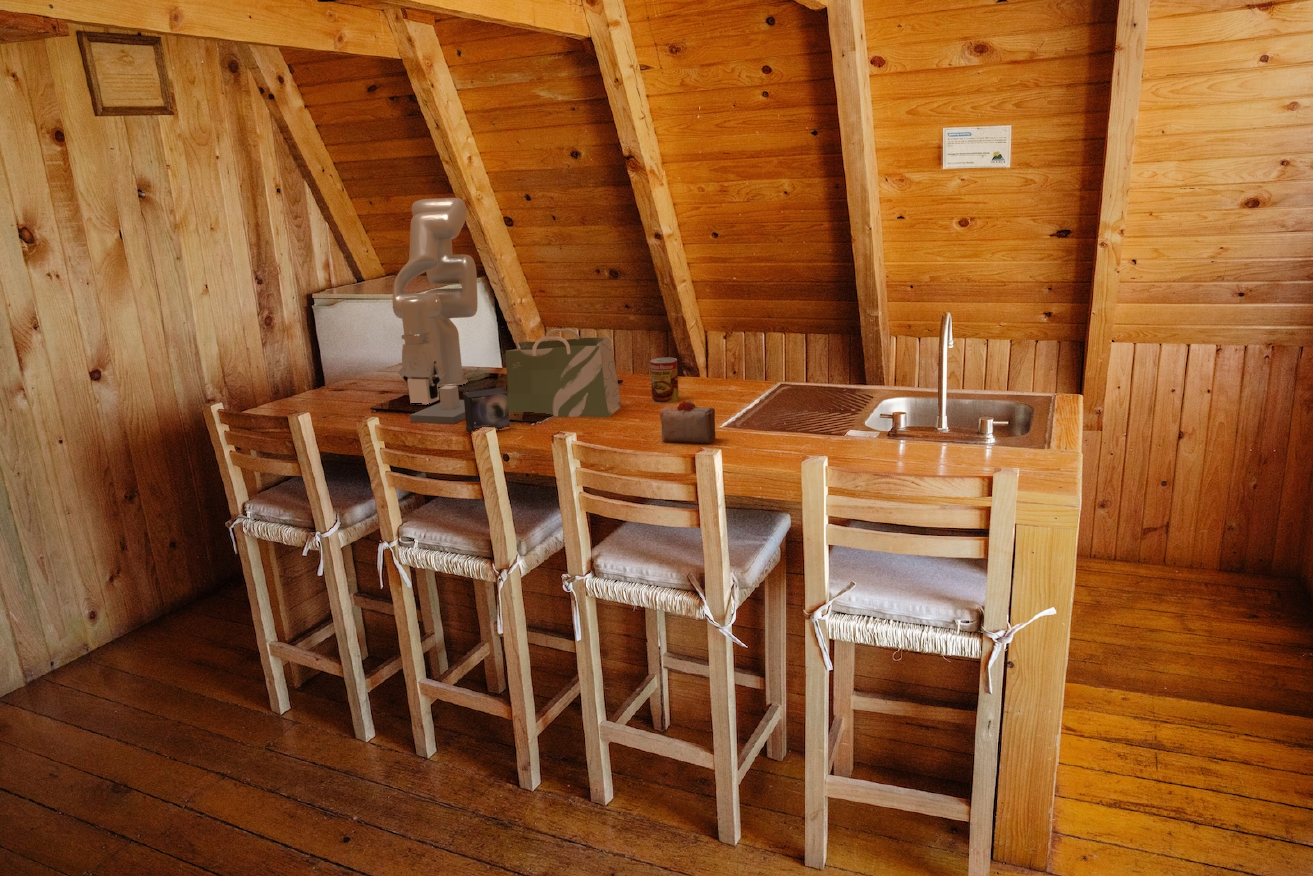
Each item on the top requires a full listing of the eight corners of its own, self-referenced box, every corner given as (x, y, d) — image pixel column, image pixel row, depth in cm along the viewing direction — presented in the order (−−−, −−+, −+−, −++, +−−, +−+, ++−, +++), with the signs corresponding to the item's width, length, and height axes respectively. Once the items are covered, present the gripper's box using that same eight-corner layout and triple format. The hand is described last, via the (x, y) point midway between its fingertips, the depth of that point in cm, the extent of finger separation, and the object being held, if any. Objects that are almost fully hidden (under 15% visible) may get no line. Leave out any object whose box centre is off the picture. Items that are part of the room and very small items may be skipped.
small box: (472, 435, 249) (469, 396, 246) (465, 430, 255) (461, 392, 252) (511, 429, 254) (507, 391, 251) (503, 424, 259) (500, 387, 257)
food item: (656, 443, 234) (655, 404, 231) (666, 435, 241) (664, 397, 238) (710, 446, 230) (709, 406, 227) (718, 437, 237) (717, 398, 234)
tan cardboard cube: (421, 398, 293) (419, 374, 291) (439, 399, 291) (436, 375, 289) (410, 403, 287) (407, 379, 285) (428, 404, 285) (425, 379, 283)
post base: (448, 405, 285) (445, 379, 283) (489, 407, 280) (487, 380, 278) (410, 422, 267) (407, 394, 265) (454, 424, 262) (451, 395, 260)
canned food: (647, 402, 277) (645, 362, 274) (657, 396, 284) (656, 357, 281) (672, 403, 274) (671, 362, 271) (682, 397, 281) (680, 357, 278)
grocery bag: (501, 415, 270) (494, 334, 264) (520, 404, 282) (514, 327, 276) (608, 418, 261) (603, 334, 255) (623, 406, 274) (619, 326, 268)
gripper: (385, 340, 283) (393, 399, 288) (435, 341, 278) (442, 401, 283) (400, 336, 290) (407, 393, 295) (449, 337, 284) (455, 395, 289)
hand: (424, 396), depth 289 cm, fingers closed on tan cardboard cube, 6 cm apart
